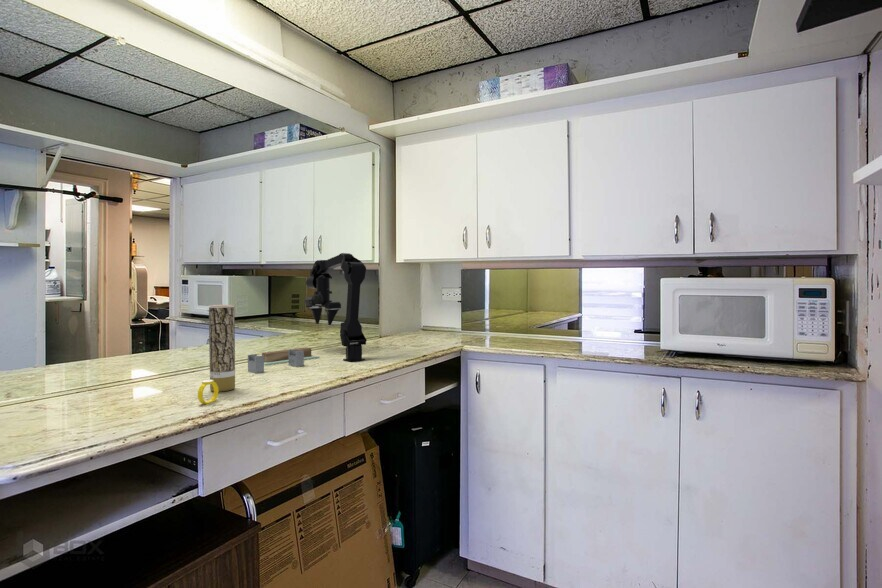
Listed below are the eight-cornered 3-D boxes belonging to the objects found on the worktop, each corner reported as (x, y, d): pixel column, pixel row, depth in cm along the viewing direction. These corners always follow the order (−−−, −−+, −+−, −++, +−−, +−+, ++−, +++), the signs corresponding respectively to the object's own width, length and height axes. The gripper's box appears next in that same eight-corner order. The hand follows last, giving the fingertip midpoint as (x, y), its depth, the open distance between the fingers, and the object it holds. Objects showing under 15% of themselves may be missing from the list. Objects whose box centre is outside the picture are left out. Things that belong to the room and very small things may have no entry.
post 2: (303, 365, 178) (303, 350, 178) (296, 367, 176) (296, 351, 176) (295, 364, 182) (295, 349, 182) (288, 365, 180) (288, 350, 179)
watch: (204, 406, 121) (203, 384, 121) (195, 406, 122) (194, 383, 122) (221, 399, 127) (220, 378, 127) (213, 399, 128) (211, 377, 127)
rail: (311, 356, 197) (311, 348, 197) (266, 362, 182) (266, 353, 182) (306, 355, 199) (306, 347, 199) (261, 361, 184) (261, 352, 184)
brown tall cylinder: (225, 392, 135) (224, 306, 135) (204, 391, 137) (203, 305, 136) (240, 387, 142) (239, 304, 141) (220, 386, 143) (219, 304, 143)
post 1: (264, 372, 166) (263, 355, 166) (255, 373, 164) (255, 356, 164) (256, 370, 170) (255, 354, 170) (247, 371, 168) (247, 355, 167)
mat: (319, 358, 196) (319, 356, 196) (265, 365, 178) (265, 364, 178) (307, 355, 202) (307, 354, 202) (253, 362, 184) (253, 361, 184)
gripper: (295, 288, 207) (295, 324, 208) (319, 289, 195) (320, 327, 195) (317, 288, 216) (317, 322, 216) (341, 289, 203) (342, 325, 204)
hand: (323, 324), depth 208 cm, fingers open, 9 cm apart
